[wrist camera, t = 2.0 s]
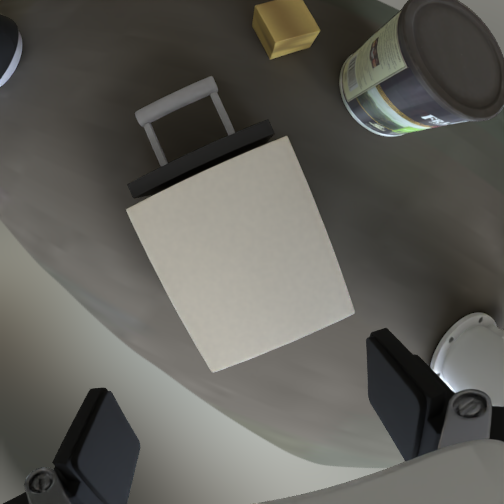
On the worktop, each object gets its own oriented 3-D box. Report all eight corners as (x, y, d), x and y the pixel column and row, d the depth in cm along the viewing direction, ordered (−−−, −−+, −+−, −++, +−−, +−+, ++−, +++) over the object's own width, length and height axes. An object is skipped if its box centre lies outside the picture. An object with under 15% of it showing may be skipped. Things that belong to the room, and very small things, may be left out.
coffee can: (434, 124, 30) (524, 110, 16) (360, 148, 30) (440, 133, 17) (401, 42, 28) (473, -7, 14) (322, 57, 28) (376, -9, 14)
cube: (291, 14, 27) (299, -6, 22) (310, 47, 28) (320, 30, 23) (251, 25, 27) (254, 5, 22) (269, 60, 28) (275, 42, 24)
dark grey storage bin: (127, 130, 28) (100, 119, 21) (236, 79, 27) (236, 53, 21) (209, 307, 32) (203, 338, 26) (314, 261, 32) (335, 282, 25)
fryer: (153, 200, 30) (125, 209, 22) (272, 146, 30) (287, 135, 22) (216, 328, 34) (212, 373, 25) (327, 280, 33) (355, 313, 25)
